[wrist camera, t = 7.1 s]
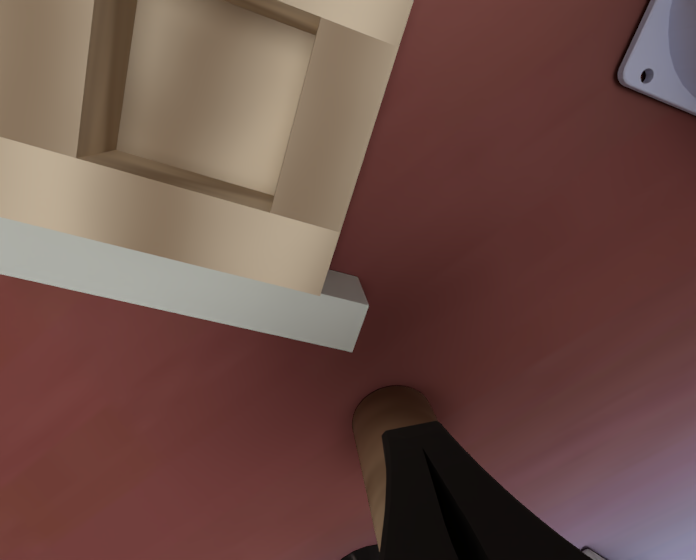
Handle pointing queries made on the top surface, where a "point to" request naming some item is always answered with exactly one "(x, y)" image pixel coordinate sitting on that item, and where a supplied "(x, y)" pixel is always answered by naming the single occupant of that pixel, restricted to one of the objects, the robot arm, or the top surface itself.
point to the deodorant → (364, 554)
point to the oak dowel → (368, 425)
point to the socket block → (194, 124)
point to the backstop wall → (184, 286)
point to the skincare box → (592, 555)
